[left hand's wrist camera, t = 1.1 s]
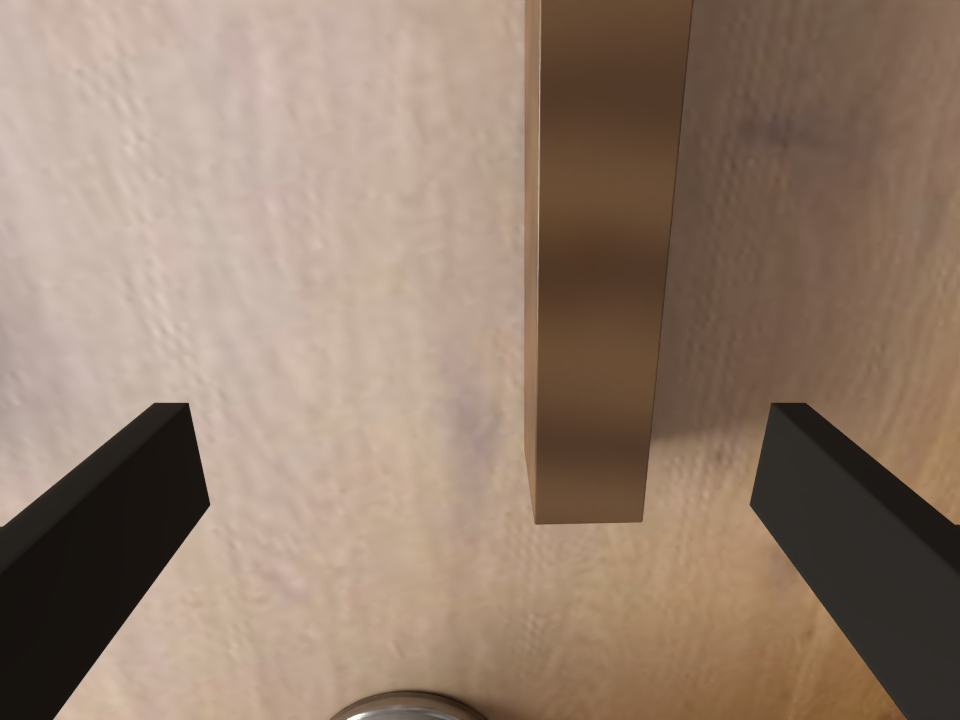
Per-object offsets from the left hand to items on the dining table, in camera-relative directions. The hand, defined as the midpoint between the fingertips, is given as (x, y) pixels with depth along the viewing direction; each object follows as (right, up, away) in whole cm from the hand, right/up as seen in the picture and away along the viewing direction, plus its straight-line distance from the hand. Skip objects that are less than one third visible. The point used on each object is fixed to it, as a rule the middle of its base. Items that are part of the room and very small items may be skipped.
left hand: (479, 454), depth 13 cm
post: (+5, +24, +12) cm, 27 cm away
